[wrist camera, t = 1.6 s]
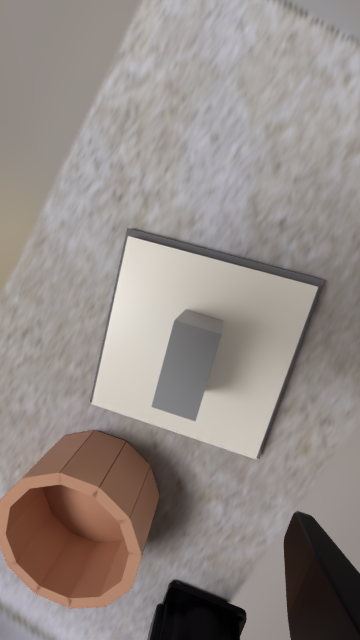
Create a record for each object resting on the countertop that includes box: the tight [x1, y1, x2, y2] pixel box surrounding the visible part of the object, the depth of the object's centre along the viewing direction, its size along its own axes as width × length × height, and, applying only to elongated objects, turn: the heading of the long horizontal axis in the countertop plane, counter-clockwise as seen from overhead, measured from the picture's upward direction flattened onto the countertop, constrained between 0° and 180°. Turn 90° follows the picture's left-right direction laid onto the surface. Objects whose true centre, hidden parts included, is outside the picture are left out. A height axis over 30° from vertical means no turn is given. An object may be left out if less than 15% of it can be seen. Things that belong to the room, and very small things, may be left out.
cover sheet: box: [92, 236, 318, 459], centre depth 18 cm, size 12×12×5 cm
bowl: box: [0, 430, 160, 608], centre depth 22 cm, size 10×10×5 cm
